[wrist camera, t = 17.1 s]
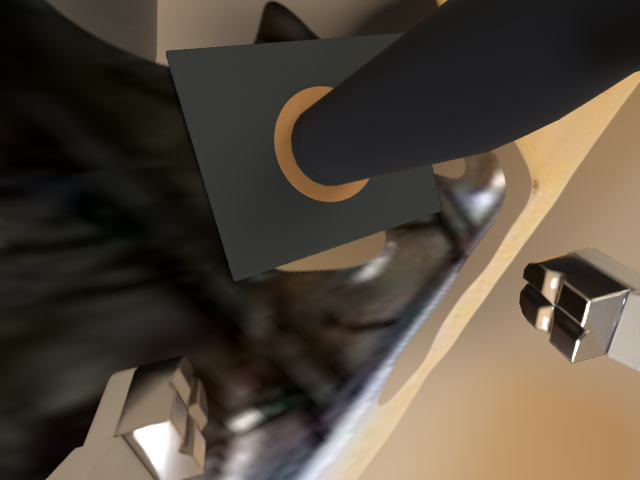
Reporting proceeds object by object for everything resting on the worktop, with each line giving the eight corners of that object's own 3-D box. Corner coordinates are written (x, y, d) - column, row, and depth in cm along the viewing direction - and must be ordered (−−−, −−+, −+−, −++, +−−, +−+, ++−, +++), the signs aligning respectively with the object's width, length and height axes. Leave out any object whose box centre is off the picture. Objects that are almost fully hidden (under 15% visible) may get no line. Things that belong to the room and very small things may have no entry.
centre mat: (165, 54, 24) (165, 49, 23) (401, 35, 32) (406, 31, 31) (233, 280, 26) (235, 281, 26) (437, 211, 34) (442, 210, 33)
